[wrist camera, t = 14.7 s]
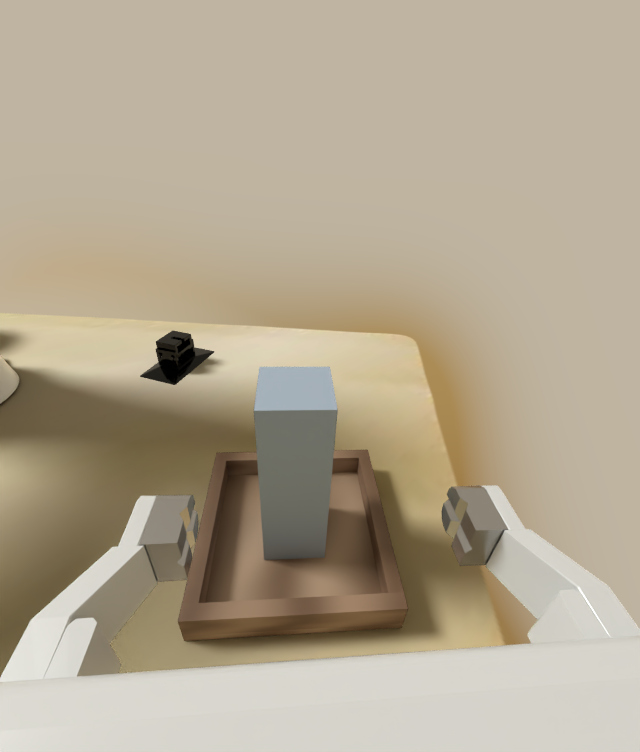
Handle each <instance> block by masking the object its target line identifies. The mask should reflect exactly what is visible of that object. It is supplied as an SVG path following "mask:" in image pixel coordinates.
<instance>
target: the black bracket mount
mask: <svg viewBox="0 0 640 752" xmlns="http://www.w3.org/2000/svg"><path fill="white" fill-rule="evenodd" d="M156 345H157V349H156V353H157V357H158V361H159V362H158V363H157V364H156V365H154V366H153V367H152V368H150V369H149V370H147V371H146V372H145V373H143V374H142V375H141V376H140V377H144V378H148V379H152V380H156V381H161V382H165V383H169V384H173V385H175V384H177V383H178V382H179V381H180V380H182V379H183V378H184V377H185V376H186V375H188V374H189V373H190V372H191V371H192V370H193V369H195V368H196V367H197V366H198V365H199V364H201V363H202V362H203V361H204V360H205V359H207V358H208V357H209V356H210V355H211V354H213V353H214V351H210V350H204V349H199V348H194V342H193V339H191V334H188V333H182V332H177V331H171V332H170V333H168V334H167V335H165V336H164V337H162V338H161V339H159V340H158V341H156Z"/></svg>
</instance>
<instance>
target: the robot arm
mask: <svg viewBox="0 0 640 752" xmlns="http://www.w3.org/2000/svg"><path fill="white" fill-rule="evenodd" d="M18 384H19V376H18V374H17V373H16V372H15V371H14V370H13V369H12V368H11V367H10V366H9V365H8V364H7V363H6V362H5V360H4V359H3V357H2V356H1V354H0V404H1V403H2V402H3V401H5V400H6V399H7V398H8V397H9V396H10V395H11V394H12V393H13V392H14V391H15V390H16V388H17V386H18ZM447 496H448V498H449V500H447V501H446V502H445V503H444V504H443V507H442V522H443V526H444V528H445V531H446V533H447V534H448V535H449V536H451V537H452V538H453V542H452V548H453V551H454V553H455V556H456V558H457V560H458V563H459V565H460V566H468V565H486V568H488V570H490V572H492V574H493V575H494V576H495V577H496V578H497V579H498V580H499V581H500V582H501V583H502V584H503V585H504V586H505V587H506V588H507V589H508V590H509V591H510V592H511V593H512V594H513V595H514V596H515V597H516V598H517V599H518V600H519V601H520V602H521V603H522V604H523V605H524V606H525V607H526V608H527V609H528V610H529V611H530V612H531V613H532V614H533V615H534V616H535V617H536V618H537V619H538V620H537V621H536V622H535V624H534V625H533V626H532V628H531V629H530V630H529V632H528V637H529V639H530V641H531V643H530V644H516V645H502V646H489V647H475V648H461V649H447V650H433V651H420V652H406V653H392V654H378V655H365V656H351V657H337V658H323V659H310V660H296V661H282V662H269V663H255V664H241V665H227V666H214V667H200V668H186V669H173V670H159V671H145V672H131V673H119V670H120V666H121V662H120V661H119V659H118V657H117V655H116V654H115V652H114V650H113V649H112V647H111V645H110V642H111V641H112V640H113V639H114V637H115V636H116V635H117V634H118V632H119V631H120V630H121V629H122V627H123V626H124V625H125V624H126V622H127V621H128V620H129V619H130V617H131V616H132V615H133V614H134V612H135V611H136V610H137V609H138V607H139V606H140V605H141V604H142V602H143V601H144V600H145V599H146V597H147V596H148V595H149V594H150V592H151V591H152V590H153V589H154V587H155V586H156V585H157V582H161V581H174V580H187V579H188V575H189V570H190V566H191V561H192V554H191V548H192V546H193V545H194V544H195V543H196V539H197V533H198V514H197V511H195V510H194V505H195V500H194V497H193V495H158V496H140V498H139V499H138V500H137V502H136V504H135V507H134V509H133V511H132V514H131V516H130V519H129V521H128V524H127V526H126V528H125V531H124V533H123V536H122V538H121V541H120V543H119V545H118V546H116V547H112V548H111V549H110V550H109V551H107V552H106V553H105V554H104V555H103V556H102V557H101V558H100V559H98V560H97V561H96V562H95V563H94V564H93V565H92V566H91V567H89V568H88V569H87V570H86V571H85V572H84V573H83V574H82V575H80V576H79V577H78V578H77V579H76V580H75V581H74V582H73V583H71V584H70V585H69V586H68V587H67V588H66V589H65V590H64V591H62V592H61V593H60V594H59V595H58V596H57V597H56V598H55V599H53V600H52V601H51V602H50V603H49V604H48V605H47V606H46V607H44V608H43V609H42V610H41V611H40V612H39V613H38V614H37V615H35V616H34V617H33V618H32V619H31V621H30V622H29V624H28V626H27V628H26V630H25V632H24V634H23V636H22V637H21V639H20V641H19V643H18V645H17V647H16V649H15V651H14V653H13V654H12V656H11V658H10V660H9V662H8V664H7V666H6V668H5V669H4V671H3V673H2V675H1V677H0V752H640V629H639V628H638V626H637V625H636V624H635V622H634V621H633V619H632V618H631V616H630V615H629V614H628V612H627V611H626V610H625V608H624V607H623V605H622V604H621V603H620V601H619V600H618V599H617V597H616V596H615V594H614V593H613V592H612V590H611V589H610V587H609V586H608V585H606V584H605V583H604V582H602V581H601V580H599V579H598V578H597V577H595V576H594V575H592V574H591V573H590V572H588V571H587V570H586V569H584V568H583V567H581V566H580V565H578V564H577V563H576V562H575V561H573V560H572V559H570V558H569V557H567V556H566V555H565V554H564V553H562V552H561V551H559V550H558V549H557V548H555V547H554V546H553V545H551V544H550V543H548V542H547V541H546V540H544V539H543V538H541V537H540V536H539V535H537V534H536V533H534V532H533V531H532V530H530V529H525V527H524V526H523V524H522V523H521V521H520V520H519V518H518V516H517V515H516V513H515V511H514V510H513V508H512V506H511V505H510V503H509V502H508V500H507V498H506V497H505V495H504V494H503V492H502V491H501V489H500V488H499V487H498V486H497V485H496V486H494V485H493V486H459V487H451V488H450V489H449V490H448V493H447Z"/></svg>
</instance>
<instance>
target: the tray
mask: <svg viewBox="0 0 640 752" xmlns="http://www.w3.org/2000/svg"><path fill="white" fill-rule="evenodd" d="M407 610H408V607H407V603H406V599H405V595H404V591H403V587H402V583H401V579H400V575H399V571H398V567H397V563H396V559H395V555H394V551H393V548H392V544H391V540H390V536H389V532H388V528H387V524H386V520H385V516H384V512H383V508H382V504H381V500H380V496H379V492H378V489H377V485H376V481H375V477H374V473H373V469H372V465H371V461H370V457H369V453H368V450H335V451H334V456H333V467H332V479H331V490H330V502H329V513H328V525H327V536H326V548H325V558H302V559H278V560H264V551H263V537H262V522H261V507H260V493H259V478H258V463H257V452H232V453H217V454H216V458H215V462H214V467H213V471H212V475H211V480H210V484H209V488H208V493H207V497H206V502H205V506H204V510H203V515H202V519H201V523H200V528H199V532H198V536H197V541H196V545H195V549H194V554H193V558H192V562H191V567H190V571H189V575H188V580H187V584H186V588H185V593H184V597H183V601H182V606H181V610H180V614H179V619H178V624H179V627H180V630H181V632H182V635H183V638H184V641H189V640H205V639H221V638H238V637H254V636H271V635H287V634H304V633H320V632H336V631H353V630H369V629H386V628H402V625H403V622H404V619H405V616H406V613H407Z"/></svg>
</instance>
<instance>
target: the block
mask: <svg viewBox="0 0 640 752" xmlns="http://www.w3.org/2000/svg"><path fill="white" fill-rule="evenodd" d="M254 420H255V434H256V449H257V463H258V478H259V493H260V507H261V522H262V537H263V551H264V560H278V559H302V558H325V548H326V536H327V525H328V513H329V502H330V490H331V479H332V467H333V456H334V444H335V433H336V421H337V404H336V399H335V393H334V387H333V382H332V376H331V371H330V367H260V368H259V375H258V383H257V391H256V398H255V406H254Z"/></svg>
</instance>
